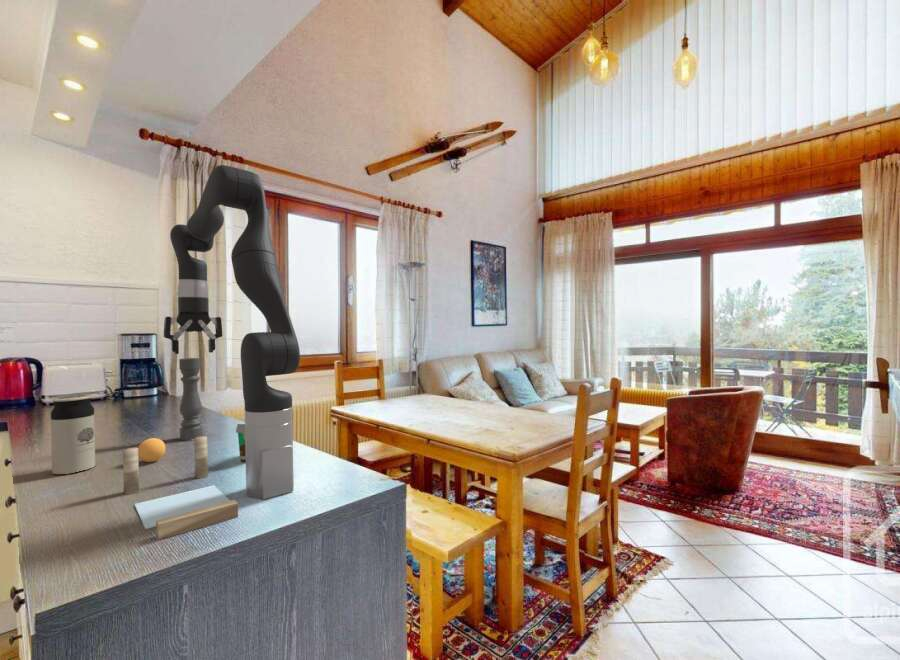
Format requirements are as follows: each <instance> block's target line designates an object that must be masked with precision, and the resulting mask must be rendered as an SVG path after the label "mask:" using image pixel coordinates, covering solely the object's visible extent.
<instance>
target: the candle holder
mask: <svg viewBox="0 0 900 660" xmlns="http://www.w3.org/2000/svg"><path fill="white" fill-rule="evenodd" d="M178 360H179V370H180V373H181V374H182V377H180V381H181V382H182V384H183V392H182V393H183V394H182V396H181V401H180V405H179V412H180V415H182V418H183V420H182V421H181V422H180V426H181V427H180V428H179V440H180V439H181V440H180V441H182V440H190V441H192V440H191V439H194V438H196V437H200V436H204V433H203V431H204V430H203V427H204V426H203V425H202V420H201V419H200V418H199V417H200V414H201V413H202V410H203V405H202V401H201V398H200V395H199V390H198V382H199V381H200V380H201V378H200V376H198V374H199V372H200V369H201V358H200V357H189V358H179V359H178Z"/></svg>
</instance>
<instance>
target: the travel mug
mask: <svg viewBox="0 0 900 660" xmlns="http://www.w3.org/2000/svg"><path fill="white" fill-rule="evenodd" d="M92 398H93V395H92V394H73V395H64V396H57V397H53V398H51V401H52V402H53V405H54V407H53V409H52V410H51V411H50V433H51V435H50V436H51V438H50V439H51V440H50V441H51V473H52V474H54V475H57V474H66V475H68V474H67V473H74V472H78V473H80V472H79V471H83V470H86V471H88V470H87V469H89V470H90V468H91V469H92V468H94V467H95V466H96V447H95V446H96V440H95V439H96V438H95V437H96V436H95V435H96V434H95V408H94V406H93V405H92V403H91V401H92ZM83 472H84V471H83ZM74 474H75V473H74Z"/></svg>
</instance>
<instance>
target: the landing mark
mask: <svg viewBox="0 0 900 660" xmlns="http://www.w3.org/2000/svg"><path fill="white" fill-rule="evenodd" d="M228 501H231V500H230V499H229V498H228V497H227V496H226V495H225V494H224V493H223V492H222V491H221V490H220V489H219V488H218V487H217V486H216V485H215V484H213V485H209V486H205V487H201V488H196V489H193V490H188V491H184V492H180V493H176V494H175V493H174V494H171V495H168V496H163V497H159V498H155V499H154V498H153V499H150V500H146V501H142V502H136V503H134V507H135V509H136V512H137V513H138V516H139V518H140V521H141V522H142V525H143V527H144V530H149V529H152V528H156V521H157V520H160V519H164V518H168V517H172V516H175V515H179V514H183V513H187V512H190V511H194V510H198V509H202V508H206V507H209V506H213V505H217V504H221V503H224V502H228Z"/></svg>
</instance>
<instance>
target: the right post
mask: <svg viewBox="0 0 900 660" xmlns="http://www.w3.org/2000/svg"><path fill="white" fill-rule="evenodd" d="M193 441H194V443H193V444H194V446H193V447H194V478H195V479H203V478H206V477H208V476H209V465H208V463H209V459H208V458H209V456H208V454H209V453H208V452H209V451H208V436H206V435H203V436H200V437H196V438H194V440H193Z"/></svg>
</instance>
